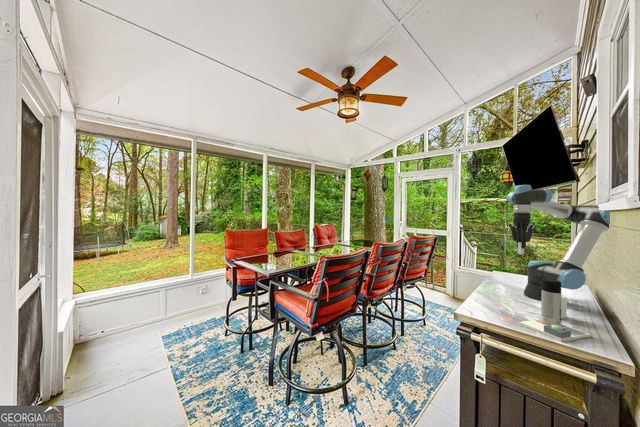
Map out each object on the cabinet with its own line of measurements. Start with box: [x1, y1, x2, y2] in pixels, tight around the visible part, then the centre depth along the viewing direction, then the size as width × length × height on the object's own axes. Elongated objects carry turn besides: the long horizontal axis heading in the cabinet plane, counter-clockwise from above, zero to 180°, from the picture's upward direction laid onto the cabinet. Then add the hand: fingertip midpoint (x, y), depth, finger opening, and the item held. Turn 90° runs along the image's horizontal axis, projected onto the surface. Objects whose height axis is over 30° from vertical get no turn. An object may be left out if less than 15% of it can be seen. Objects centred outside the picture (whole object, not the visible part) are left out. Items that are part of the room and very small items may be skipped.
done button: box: [551, 324, 563, 331], centre depth 102 cm, size 4×4×3 cm
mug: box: [561, 293, 568, 320], centre depth 124 cm, size 9×12×11 cm
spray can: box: [540, 279, 562, 326], centre depth 112 cm, size 7×7×20 cm
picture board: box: [518, 318, 592, 342], centre depth 108 cm, size 18×16×4 cm
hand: (521, 253), depth 138 cm, fingers closed
